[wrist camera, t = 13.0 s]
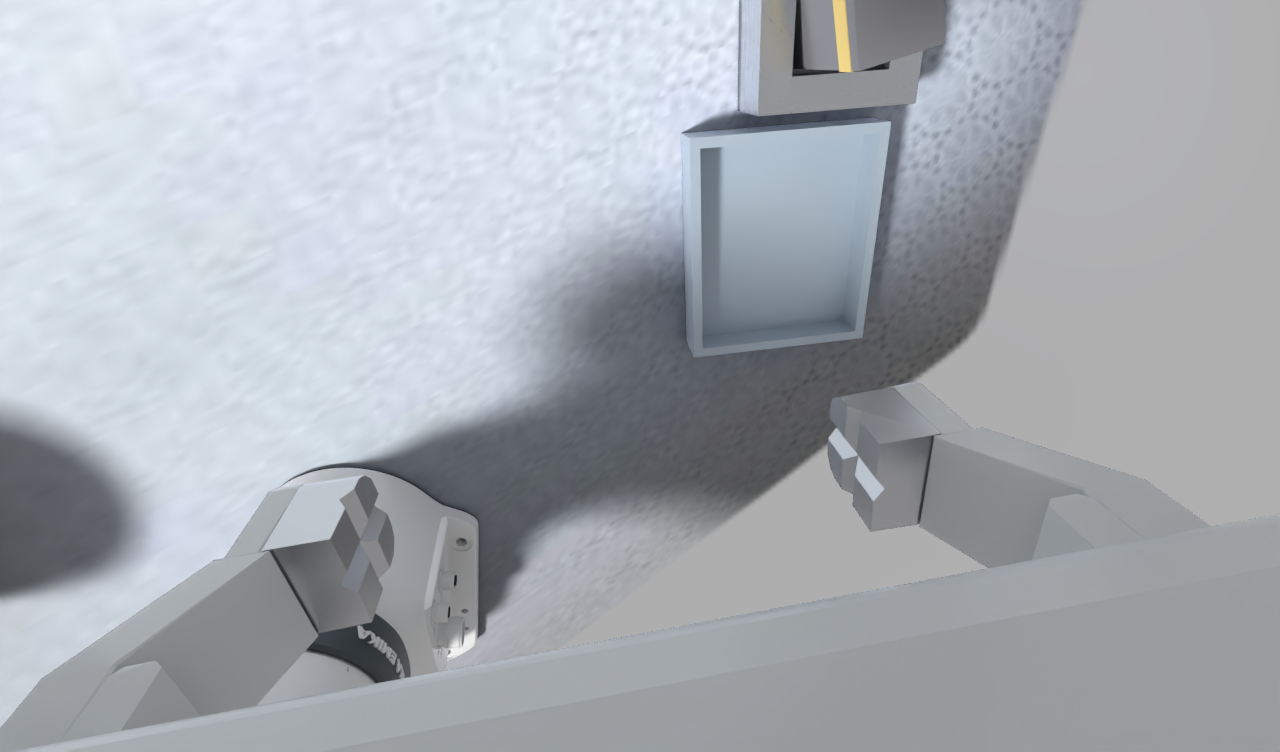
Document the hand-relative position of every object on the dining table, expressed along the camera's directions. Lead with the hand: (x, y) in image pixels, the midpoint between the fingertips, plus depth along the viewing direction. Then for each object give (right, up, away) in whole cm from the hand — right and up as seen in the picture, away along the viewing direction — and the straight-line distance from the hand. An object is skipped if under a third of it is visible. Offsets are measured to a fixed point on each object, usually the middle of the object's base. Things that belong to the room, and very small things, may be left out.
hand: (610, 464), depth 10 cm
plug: (+11, +22, +23) cm, 33 cm away
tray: (+9, +11, +29) cm, 32 cm away
